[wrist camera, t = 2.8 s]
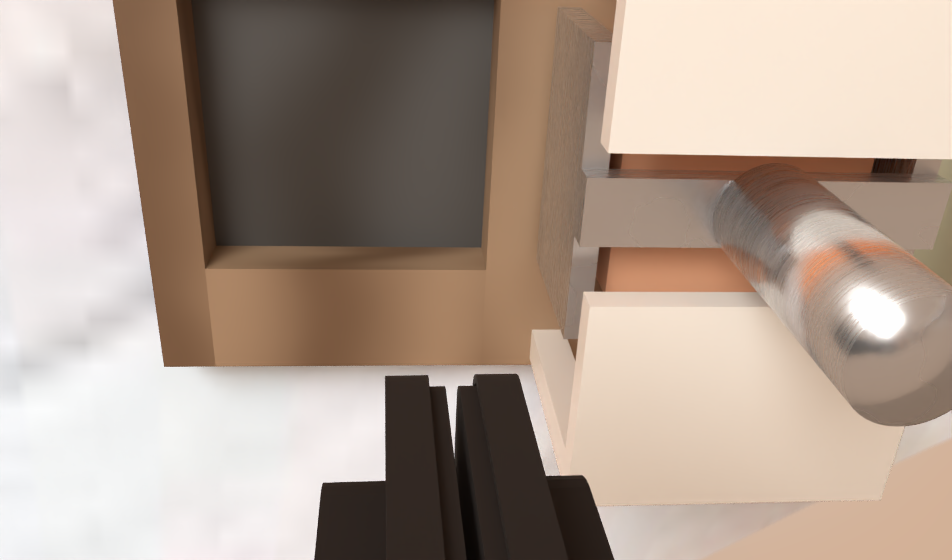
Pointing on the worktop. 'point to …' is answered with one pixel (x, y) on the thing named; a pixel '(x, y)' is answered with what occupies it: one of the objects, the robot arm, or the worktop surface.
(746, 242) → the slider
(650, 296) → the toy bench
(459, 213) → the board
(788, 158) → the block
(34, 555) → the worktop surface
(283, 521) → the worktop surface
